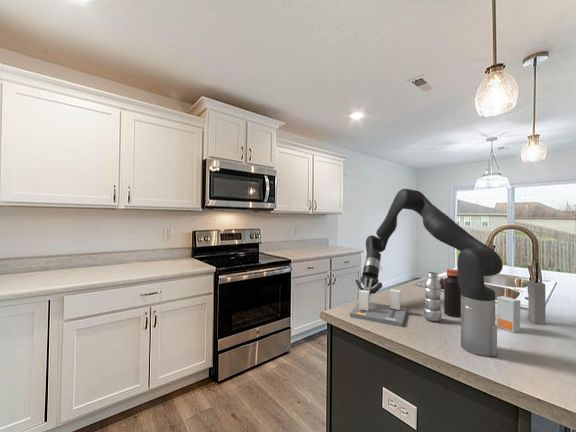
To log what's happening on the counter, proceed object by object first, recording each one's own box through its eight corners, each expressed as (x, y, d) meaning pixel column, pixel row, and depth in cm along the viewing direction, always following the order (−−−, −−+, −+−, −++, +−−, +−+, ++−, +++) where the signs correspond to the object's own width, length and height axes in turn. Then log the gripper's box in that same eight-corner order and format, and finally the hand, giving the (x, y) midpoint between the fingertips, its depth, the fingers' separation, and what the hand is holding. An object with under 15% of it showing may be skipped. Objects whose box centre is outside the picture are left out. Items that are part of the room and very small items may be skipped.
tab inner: (400, 307, 120) (400, 290, 120) (399, 309, 118) (399, 292, 118) (391, 306, 122) (391, 289, 122) (390, 308, 119) (390, 290, 120)
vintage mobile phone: (537, 320, 112) (537, 261, 112) (545, 324, 107) (545, 263, 107) (526, 319, 113) (526, 261, 113) (534, 323, 108) (534, 263, 108)
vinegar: (458, 318, 113) (459, 272, 113) (441, 314, 118) (441, 269, 118) (464, 315, 117) (464, 270, 117) (447, 311, 122) (447, 268, 122)
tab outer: (369, 308, 119) (369, 291, 119) (368, 310, 116) (368, 292, 116) (360, 307, 121) (360, 289, 121) (359, 309, 118) (359, 291, 118)
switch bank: (406, 311, 121) (406, 307, 121) (402, 326, 104) (402, 322, 104) (360, 303, 131) (360, 300, 131) (349, 316, 114) (349, 313, 114)
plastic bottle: (444, 323, 107) (444, 275, 107) (426, 322, 108) (426, 274, 108) (438, 318, 113) (438, 271, 113) (421, 316, 115) (421, 271, 115)
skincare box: (496, 326, 105) (496, 296, 105) (503, 325, 106) (503, 295, 106) (513, 333, 99) (513, 301, 99) (520, 331, 100) (520, 300, 101)
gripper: (356, 263, 132) (349, 293, 121) (384, 265, 125) (379, 297, 114) (359, 271, 136) (352, 301, 126) (386, 274, 130) (381, 306, 119)
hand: (365, 299), depth 120 cm, fingers closed
